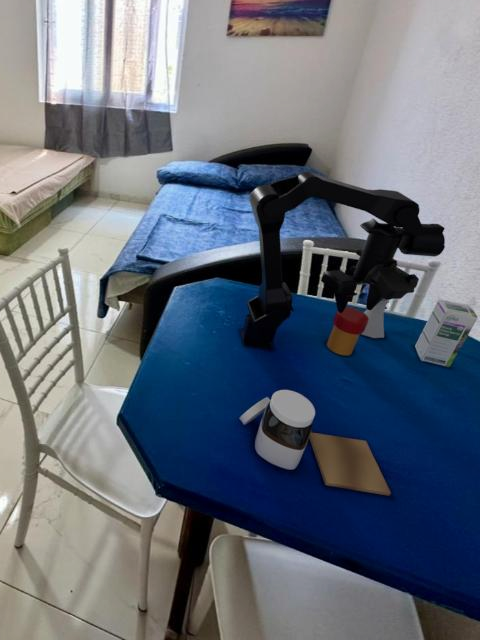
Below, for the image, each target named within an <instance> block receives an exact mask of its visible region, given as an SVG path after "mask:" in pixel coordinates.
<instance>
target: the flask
mask: <svg viewBox="0 0 480 640" xmlns="http://www.w3.org/2000/svg"><path fill="white" fill-rule="evenodd" d="M389 303H390V300H386V299H384V298H383V299H382V300H381V301H380V302H379V303H378V304H377V305H376V306H375V307H374V308H373V309H372V310H368V309H367V308H366V310H365V311H364V312H363V313H365V314H366V315H367V316H368V318H369V320H368V324H367V326H366V328H365V331H364V332H363V333H362V334H361V335H362V336H365V337H369V338H371V339H379V338H383V339H384V338H385V327H384V326H385V324H384V322H385V320H384V317H385V315H384V314H385V309H386V306H387V304H389Z"/></svg>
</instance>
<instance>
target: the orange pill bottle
mask: <svg viewBox="0 0 480 640" xmlns="http://www.w3.org/2000/svg"><path fill="white" fill-rule="evenodd" d="M360 336H361V334H357V335H355V334H349V333H346V332H344V331H342V330H340V329H338V328H337V327H336V326H335V325H334V324H333V326H332V329H331V332H330V334H329V337H328V339H327V342H326V347H327V348H328V349H329V350H330V351H331V352H333V353H335V354H337V355H340V356H351V355H352V354H353V353H354V350H355V347H356V345H357V343H358V341H359V338H360Z"/></svg>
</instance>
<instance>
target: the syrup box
mask: <svg viewBox="0 0 480 640" xmlns="http://www.w3.org/2000/svg"><path fill="white" fill-rule="evenodd" d="M477 320H478V315H477V314H476V312H475V310H474V309H473V308H472V307H471V306H470V305H469V303H462V302H455V301H450V300H444V299H441V298H438V299H437V301H436V303H435V305H434V307H433V309H432V311H431V313H430V315H429V317H428V319H427V321H426V324H425V325H424V327H423V330H422V331H421V333H420V335H419V338H418V339H417V341H416V343H415V345H414V347H415V350H416V352H417V355H418V357H419V359H420V361H421V362H427V363H431V364H435V365H439V366H443V367H446V368H450V367H451V366H452V364H453V363H454V361H455V359H456V357H457V355H458V354H459V352H460V350H461V348H462V346H463V345H464V343H465V341H466V340H467V338H468V336H469V334H470V333H471V331H472V329H473V327H474V325H475V323H476V322H477Z"/></svg>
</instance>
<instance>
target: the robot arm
mask: <svg viewBox="0 0 480 640" xmlns="http://www.w3.org/2000/svg"><path fill="white" fill-rule="evenodd" d="M312 197H315V198H319V199H322V200H326V201H327V202H328V201H329V202H332V203H336V204H339V205H342V206H346V207H349V208H353V209H355V210H360V211H364V212H366V213H368V214H370V215H372V216H373V217H375V218H377V219H378V220H380V221H381V222H379V221H377V220H376V219H375V218H371V219H369V220H367V221H365V222H363V223H361V224H360V228H362V229H363V231H365V232H366V233H367V234H368V235H367V236H366V240H365V243H364V245H363V247H362V249H357V250H356V253H355V255H356V256H359V257H358V260H357V262H356V265H351V266H350V268H349V271H351V272H352V273H353V275H349V274H347V273H346V272H344V271H343V270H342V269H338V270H327V271H324V272H323V273H322V276H321V278H320V282H321V283H323V284H324V285H325V286H327V287H328V288H329V289H330V290H331V291H333V295H334V299H335V304H336V309H337V310H338V312H340V313H343V311H344V310H345V308H346V307H348V303H349V301H350V299H351V298H352V297H355V296H357V295H358V293H356V292H355V291H356V290H357V287H358V286H362V285H363V286H364V285H369V286H368V292H367V296H366V297H367V298H366V304H365V305H366V306H365V309H366V310H367V309H368V310H372V309H373V308H374V307H375V306H376V305H377V304H378V303H379V302H380V301H381V300H382V299H383V298H384V299H386V300H389V301H390V300H396V299H398V300H400V299H403V298H404V297H405V296H406V295H407V294H412V293H415V289H416V288H417V287H418V283H419V280H420V278H419V277H418V276H417V275H416V274H415V273H411V274H410V273H408V272H406V271H404V269H401V268H399V267H398V260H396V259H394V257H395V255H396V253H397V251H398V250H399V251H400V253H401V254H403V255H407V256H408V255H409V256H423V257H438V256H440V255H441V254H442V253H443V252H444V250H445V247H446V246H445V243H446V237H445V235H444V231H445V229H446V228H445V227H444V226H442V225H441V224H439V223H421V219H420V216H419V214H420V211H421V210H420V205H419V204H418V202H416V201H414V200H413V199H411V198H409V197H408V196H406V195H405V194H403V193H402V192H400V191H398V190H389V189H381V188H380V189H379V188H378V189H368V188H363V187H360V186H356V185H354V184H353V185H352V184H350V183H347V182H343V181H340V180H337V179H332V178H329V177H325V176H322V175H319V174H316V173H314V172H313V171H304V172H303V171H302V172H301V173H298V174H296V175H294V176H290V177H286V178H282V179H278V180H275V181H273V182H270V183H269V184H261V185H259V186H257V187H255V188H254V189H253V190H252V192H250V195H249V203H250V207H251V210H252V214H253V216H254V219H255V222H256V225H257V227H258V239H259V240H258V241H259V252H260V253H259V254H260V265H261V279H262V281H261V284H260V285H259V288H258V295H256V296H255V297H253V298H251V299H250V300H247V302H246V307H247V310H248V312H249V313H247V314H246V316H245V319H244V324H243V328H242V327H241V328H240V334H241V338H242V339H241V340H242V343H243V346H244V347H249V348H258V349H264V350H265V349H266V350H272V348H273V345H272V344H273V342H274V339H275V336H276V333H277V330H278V329H279V327H281V325H282V324H283V323H284V322H285V321H286V320H288V319H289V318H290V317H291V312H294V311H295V309H294V308H293V301H294V296H293V293H292V292H291V289H290V288H289V286H288V284H287V283H286V282H285V281H284V282H283V269H282V265H283V264H282V250H281V249H282V247H281V229H282V227H283V225H284V222H285V218H286V213H288V212H291V211H293V210H295V209H296V208H297V207H299V206H300V205H302V204H303V203H304V202H305V201H307V200H308V199H310V198H312Z"/></svg>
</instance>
